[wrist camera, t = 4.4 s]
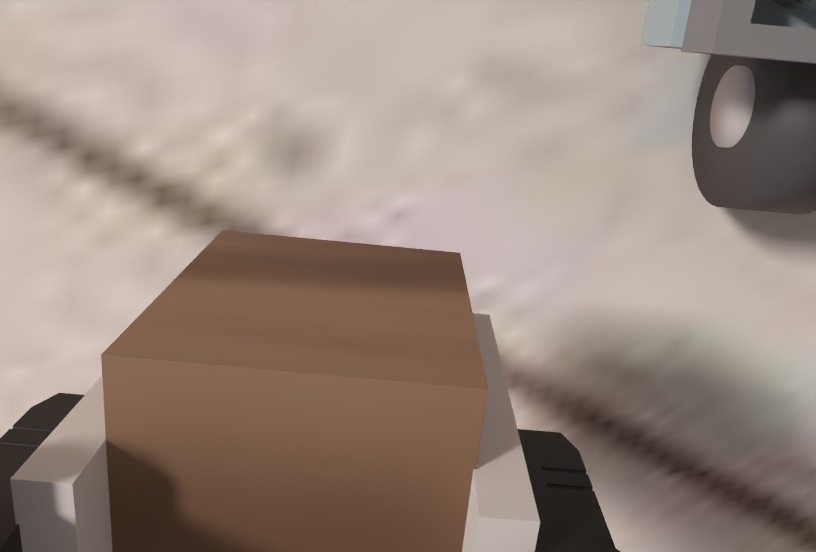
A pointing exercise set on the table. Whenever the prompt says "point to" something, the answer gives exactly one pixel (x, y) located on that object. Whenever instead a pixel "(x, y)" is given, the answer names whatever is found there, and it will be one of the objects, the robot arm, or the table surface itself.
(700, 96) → the grey bracket
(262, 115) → the table surface
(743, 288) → the table surface
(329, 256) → the block
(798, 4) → the pin
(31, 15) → the table surface
